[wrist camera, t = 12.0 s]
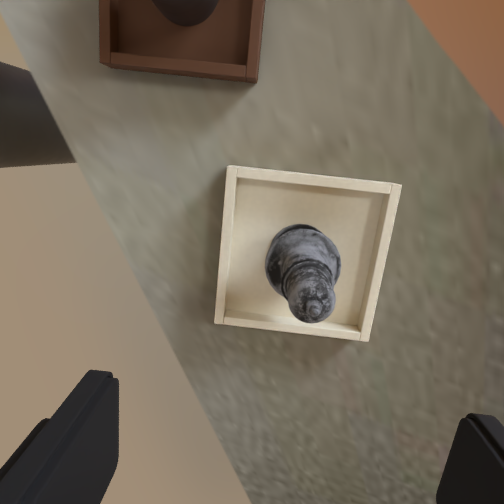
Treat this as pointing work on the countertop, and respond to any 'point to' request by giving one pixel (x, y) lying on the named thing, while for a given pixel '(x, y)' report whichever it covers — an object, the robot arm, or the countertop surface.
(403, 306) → the countertop surface
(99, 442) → the robot arm
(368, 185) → the light tray
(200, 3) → the dark gray cylinder
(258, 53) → the dark tray
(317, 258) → the marbled chess pawn
